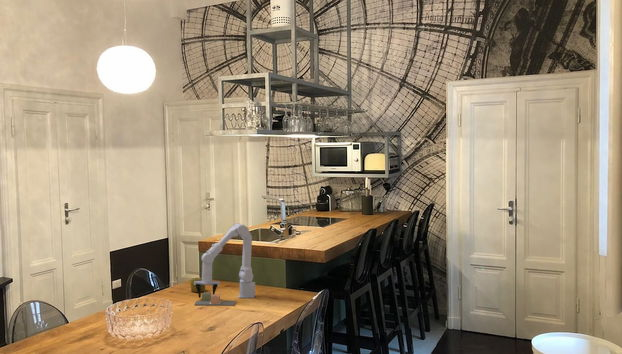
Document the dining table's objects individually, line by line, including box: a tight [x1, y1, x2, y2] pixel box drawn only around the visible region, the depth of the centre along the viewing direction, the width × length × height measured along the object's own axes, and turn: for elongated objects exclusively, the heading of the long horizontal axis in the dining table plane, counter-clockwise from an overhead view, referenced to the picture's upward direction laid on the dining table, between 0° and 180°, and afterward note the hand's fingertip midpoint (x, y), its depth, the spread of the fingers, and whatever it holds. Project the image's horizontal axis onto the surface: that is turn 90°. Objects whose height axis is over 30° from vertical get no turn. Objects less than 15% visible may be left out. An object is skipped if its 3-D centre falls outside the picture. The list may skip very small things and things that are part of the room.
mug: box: [190, 277, 206, 293], centre depth 317 cm, size 12×10×10 cm
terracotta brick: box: [210, 293, 221, 304], centre depth 288 cm, size 5×5×4 cm
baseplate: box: [194, 300, 236, 307], centre depth 288 cm, size 22×8×1 cm, turn 94°
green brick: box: [201, 291, 212, 301], centre depth 295 cm, size 5×5×4 cm
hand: (206, 297), depth 295 cm, fingers open, 7 cm apart
